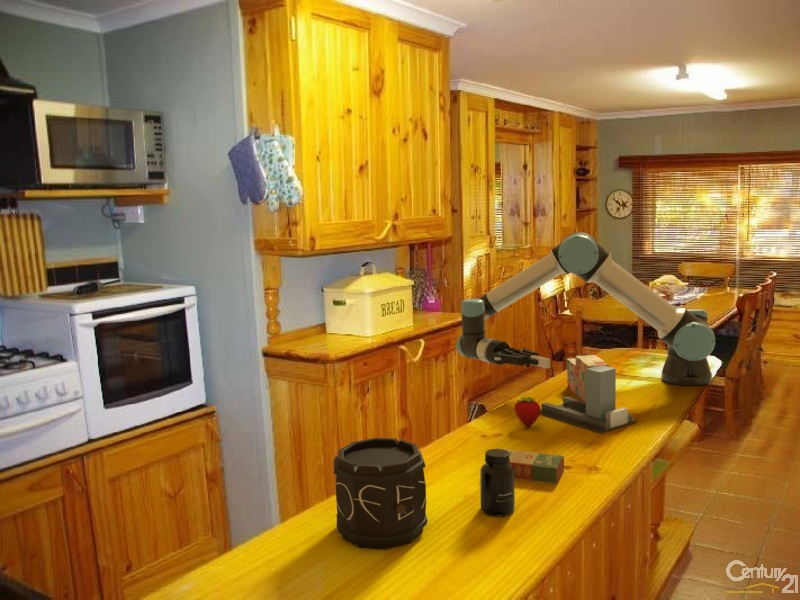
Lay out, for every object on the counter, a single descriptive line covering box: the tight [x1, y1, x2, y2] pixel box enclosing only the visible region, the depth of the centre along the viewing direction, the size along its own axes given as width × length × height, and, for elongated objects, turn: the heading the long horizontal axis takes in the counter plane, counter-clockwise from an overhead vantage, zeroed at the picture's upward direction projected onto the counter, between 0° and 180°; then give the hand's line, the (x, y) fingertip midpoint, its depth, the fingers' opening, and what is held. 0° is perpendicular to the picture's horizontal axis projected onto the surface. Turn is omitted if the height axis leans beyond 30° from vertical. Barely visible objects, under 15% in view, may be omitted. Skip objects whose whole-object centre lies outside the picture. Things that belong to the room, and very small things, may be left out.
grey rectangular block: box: [586, 365, 617, 420], centre depth 193 cm, size 6×5×14 cm
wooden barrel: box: [332, 437, 428, 551], centre depth 136 cm, size 18×18×16 cm
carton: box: [495, 447, 565, 485], centre depth 161 cm, size 8×16×4 cm, turn 67°
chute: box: [540, 396, 637, 434], centre depth 198 cm, size 14×23×5 cm, turn 34°
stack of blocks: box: [566, 354, 610, 402], centre depth 218 cm, size 21×6×12 cm, turn 3°
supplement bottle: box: [479, 448, 516, 517], centre depth 143 cm, size 7×7×12 cm
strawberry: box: [513, 391, 541, 429], centre depth 191 cm, size 6×8×10 cm
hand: (548, 363), depth 207 cm, fingers closed
